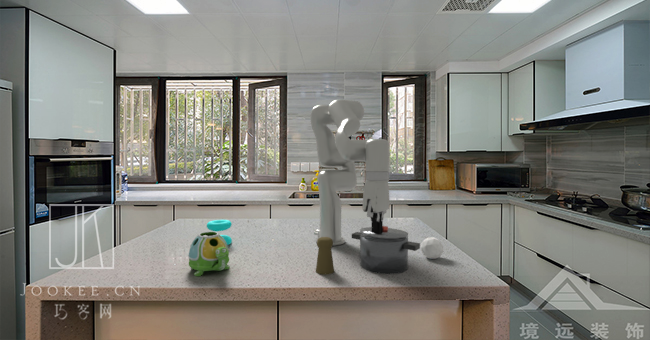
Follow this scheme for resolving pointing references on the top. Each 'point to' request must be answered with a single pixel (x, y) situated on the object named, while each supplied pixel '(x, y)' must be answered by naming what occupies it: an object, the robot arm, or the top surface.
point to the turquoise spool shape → (220, 228)
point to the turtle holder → (208, 253)
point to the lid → (385, 233)
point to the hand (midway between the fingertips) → (377, 232)
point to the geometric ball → (432, 248)
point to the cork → (324, 256)
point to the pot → (384, 254)
